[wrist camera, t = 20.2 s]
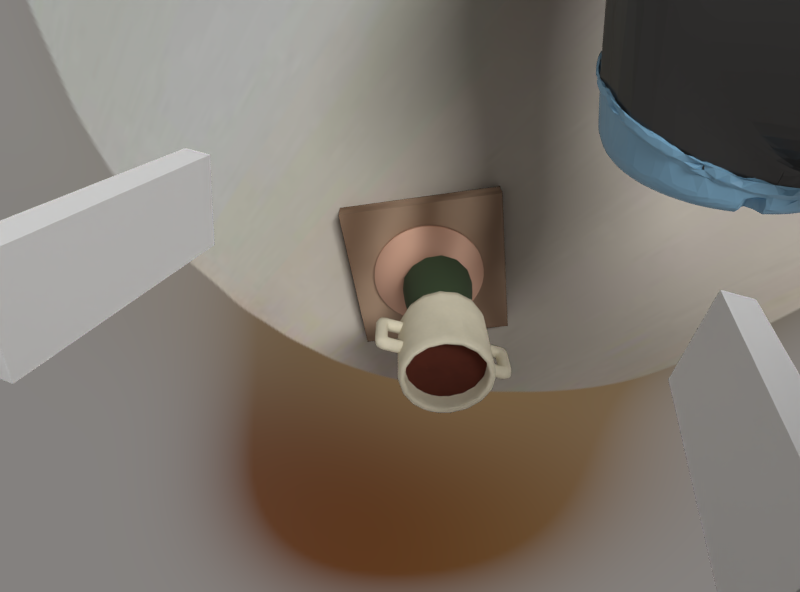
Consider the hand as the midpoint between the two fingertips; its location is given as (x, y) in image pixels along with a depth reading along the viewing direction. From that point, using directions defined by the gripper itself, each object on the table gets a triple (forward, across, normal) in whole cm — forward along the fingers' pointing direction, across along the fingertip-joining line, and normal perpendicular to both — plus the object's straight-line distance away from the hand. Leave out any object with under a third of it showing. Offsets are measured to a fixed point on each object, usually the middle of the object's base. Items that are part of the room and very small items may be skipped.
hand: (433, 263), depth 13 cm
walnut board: (+31, -5, -17) cm, 36 cm away
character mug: (+29, -4, -18) cm, 35 cm away
